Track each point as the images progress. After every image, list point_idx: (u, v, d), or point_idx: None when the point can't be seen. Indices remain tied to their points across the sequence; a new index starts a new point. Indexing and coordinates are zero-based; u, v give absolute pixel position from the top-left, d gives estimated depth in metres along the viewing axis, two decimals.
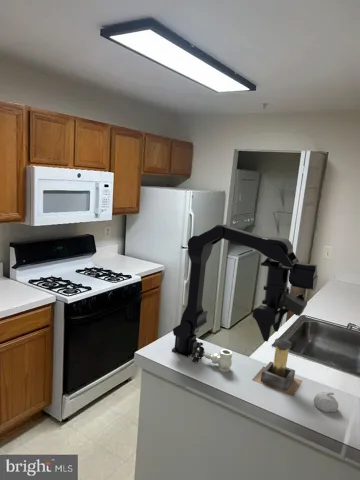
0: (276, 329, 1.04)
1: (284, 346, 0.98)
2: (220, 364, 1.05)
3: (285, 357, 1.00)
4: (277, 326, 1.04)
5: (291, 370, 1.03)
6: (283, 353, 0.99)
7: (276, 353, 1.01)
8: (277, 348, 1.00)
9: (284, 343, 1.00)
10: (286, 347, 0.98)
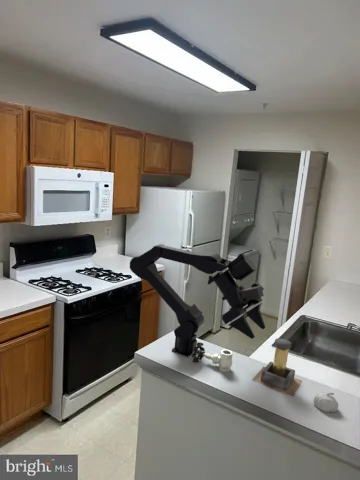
0: (263, 326, 1.08)
1: (284, 346, 0.98)
2: (221, 364, 1.04)
3: (285, 357, 1.00)
4: (261, 323, 1.08)
5: (291, 370, 1.03)
6: (283, 353, 0.99)
7: (276, 353, 1.01)
8: (277, 348, 1.00)
9: (284, 343, 1.00)
10: (286, 347, 0.98)
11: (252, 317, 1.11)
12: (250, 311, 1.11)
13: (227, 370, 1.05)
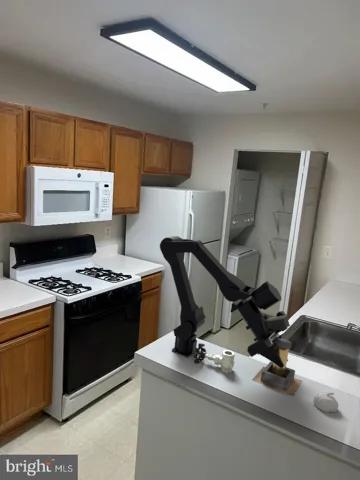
0: None
1: (284, 346, 0.98)
2: (223, 365, 1.04)
3: (285, 357, 1.00)
4: None
5: (291, 370, 1.03)
6: (284, 353, 0.99)
7: None
8: (277, 348, 1.00)
9: (284, 343, 1.00)
10: (286, 347, 0.98)
11: None
12: (271, 343, 1.05)
13: (229, 371, 1.04)
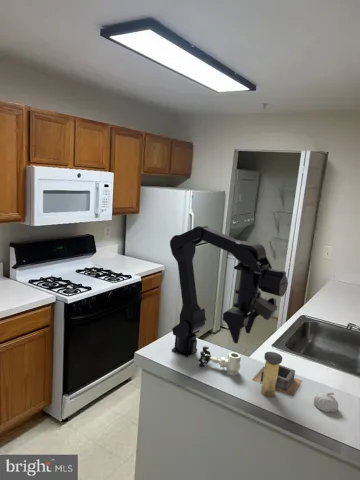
0: (248, 331, 1.07)
1: (274, 361, 0.92)
2: (229, 368, 1.03)
3: (275, 372, 0.93)
4: (249, 328, 1.06)
5: (291, 370, 1.03)
6: (274, 368, 0.92)
7: (266, 368, 0.94)
8: (266, 363, 0.93)
9: (274, 357, 0.93)
10: (276, 361, 0.92)
11: None
12: None
13: (235, 373, 1.03)
